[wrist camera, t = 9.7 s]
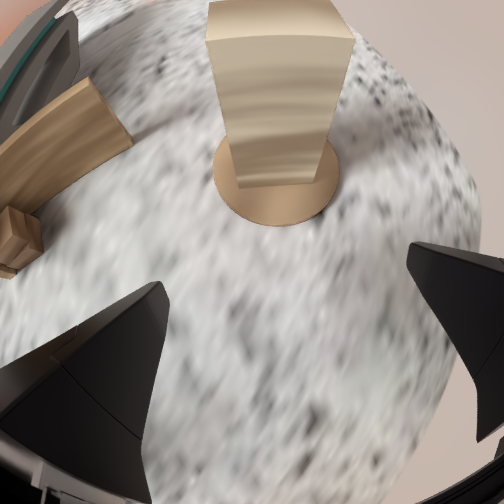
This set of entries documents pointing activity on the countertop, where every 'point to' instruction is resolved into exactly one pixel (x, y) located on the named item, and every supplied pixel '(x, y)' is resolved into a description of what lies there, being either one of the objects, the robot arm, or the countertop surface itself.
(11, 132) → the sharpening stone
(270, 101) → the pale wood block
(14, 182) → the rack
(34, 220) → the offcut lower
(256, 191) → the coaster
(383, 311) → the countertop surface
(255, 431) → the countertop surface
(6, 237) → the offcut upper
